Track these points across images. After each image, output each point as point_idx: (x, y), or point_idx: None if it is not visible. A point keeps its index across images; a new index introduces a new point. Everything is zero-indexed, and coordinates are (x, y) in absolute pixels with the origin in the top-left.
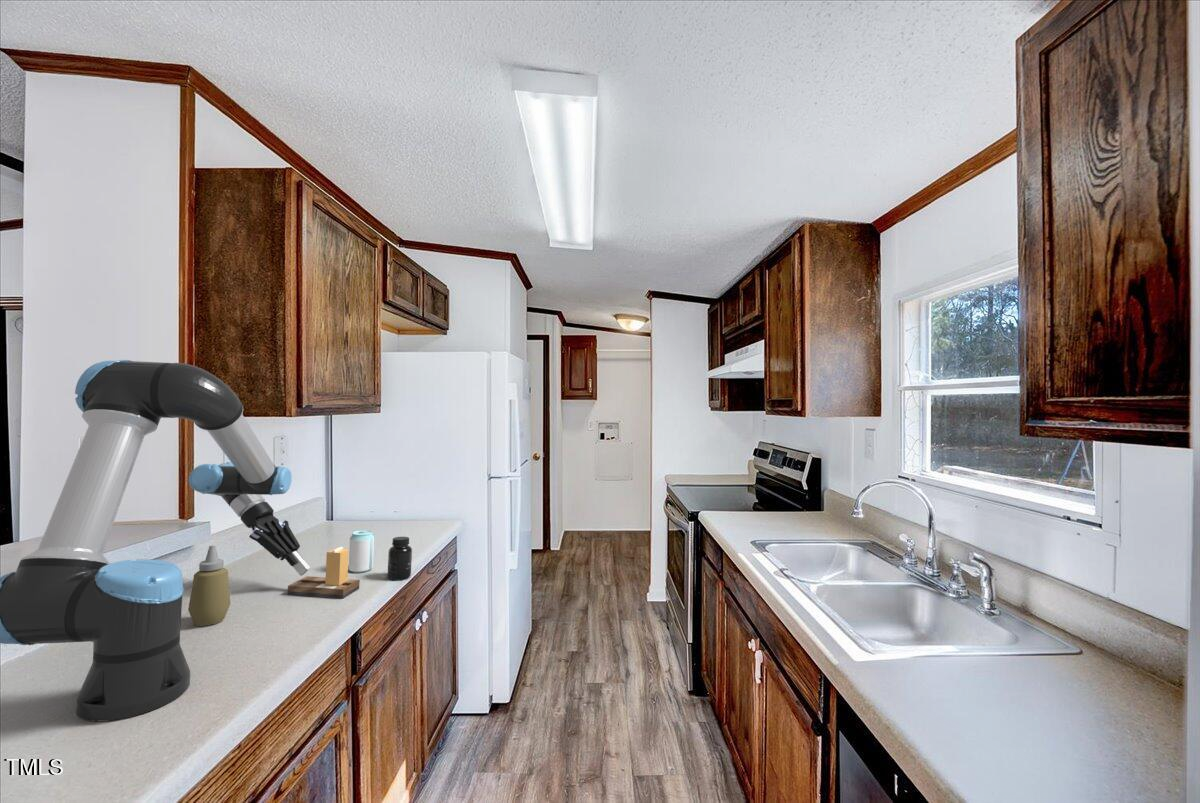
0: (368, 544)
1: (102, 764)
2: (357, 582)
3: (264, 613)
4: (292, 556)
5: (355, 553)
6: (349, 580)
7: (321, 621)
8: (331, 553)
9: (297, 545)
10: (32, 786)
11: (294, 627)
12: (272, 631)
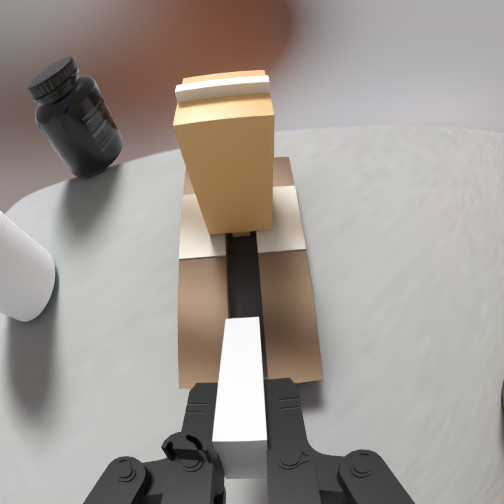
0: None
1: None
2: None
3: (457, 309)
4: (274, 425)
5: (12, 254)
6: None
7: (416, 153)
8: (269, 102)
9: (133, 475)
10: None
11: (459, 184)
12: (488, 211)
